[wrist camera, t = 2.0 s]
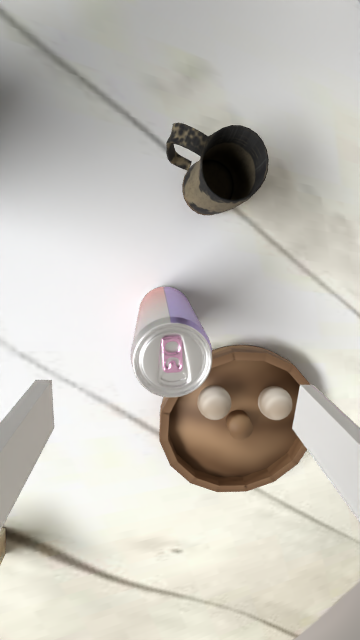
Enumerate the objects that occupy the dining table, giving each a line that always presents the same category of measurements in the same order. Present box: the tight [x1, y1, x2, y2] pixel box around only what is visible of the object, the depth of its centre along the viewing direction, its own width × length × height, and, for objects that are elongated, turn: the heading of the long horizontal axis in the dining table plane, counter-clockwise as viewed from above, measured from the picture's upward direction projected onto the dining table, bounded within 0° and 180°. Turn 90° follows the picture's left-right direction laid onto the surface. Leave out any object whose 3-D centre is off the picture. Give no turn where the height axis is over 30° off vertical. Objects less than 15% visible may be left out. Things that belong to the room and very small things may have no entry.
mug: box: [167, 123, 268, 215], centre depth 26 cm, size 8×6×12 cm
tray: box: [159, 345, 310, 492], centre depth 38 cm, size 20×20×3 cm
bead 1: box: [197, 385, 231, 420], centre depth 36 cm, size 4×4×4 cm
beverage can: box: [131, 287, 212, 397], centre depth 28 cm, size 6×6×15 cm
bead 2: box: [258, 386, 292, 420], centre depth 36 cm, size 4×4×4 cm
